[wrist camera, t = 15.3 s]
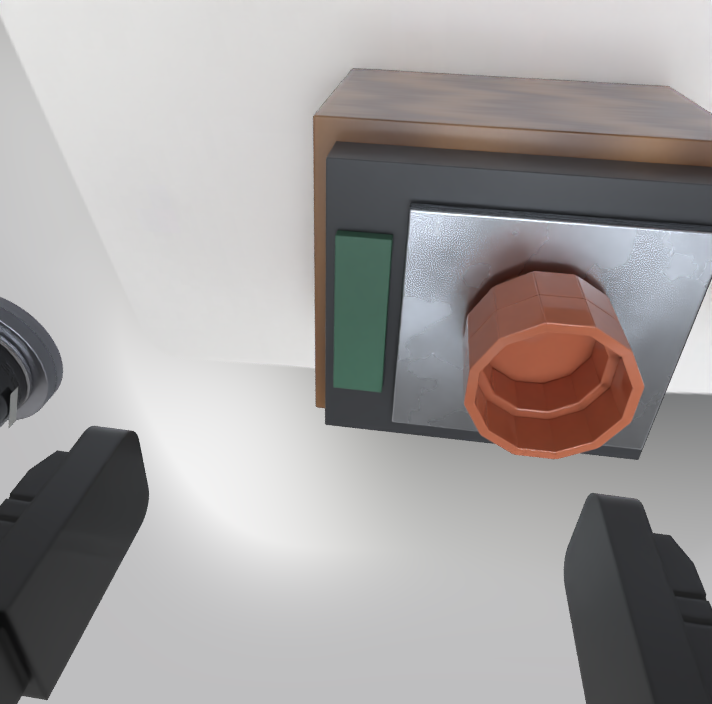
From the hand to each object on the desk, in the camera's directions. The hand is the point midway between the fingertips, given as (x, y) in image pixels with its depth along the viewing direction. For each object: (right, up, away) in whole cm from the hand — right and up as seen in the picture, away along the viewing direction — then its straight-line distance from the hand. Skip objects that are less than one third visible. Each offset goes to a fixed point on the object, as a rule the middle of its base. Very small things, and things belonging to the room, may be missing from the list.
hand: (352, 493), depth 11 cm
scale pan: (+8, +3, +16) cm, 18 cm away
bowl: (+8, +3, +15) cm, 17 cm away
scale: (+7, +5, +18) cm, 20 cm away
